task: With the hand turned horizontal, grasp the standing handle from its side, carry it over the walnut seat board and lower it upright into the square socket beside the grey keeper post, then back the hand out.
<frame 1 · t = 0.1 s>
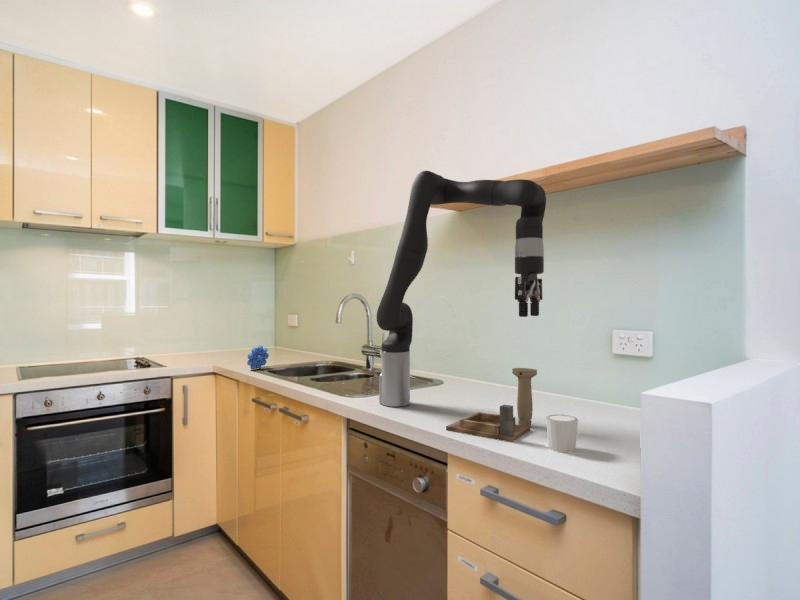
hand: (529, 316, 123), 29 cm above the countertop, tool pointing down, fingers open, 8 cm apart
white faceted cup: (561, 449, 103), on the countertop
handle: (524, 426, 123), on the countertop
seat board: (488, 430, 118), on the countertop
grapes: (257, 369, 230), on the countertop
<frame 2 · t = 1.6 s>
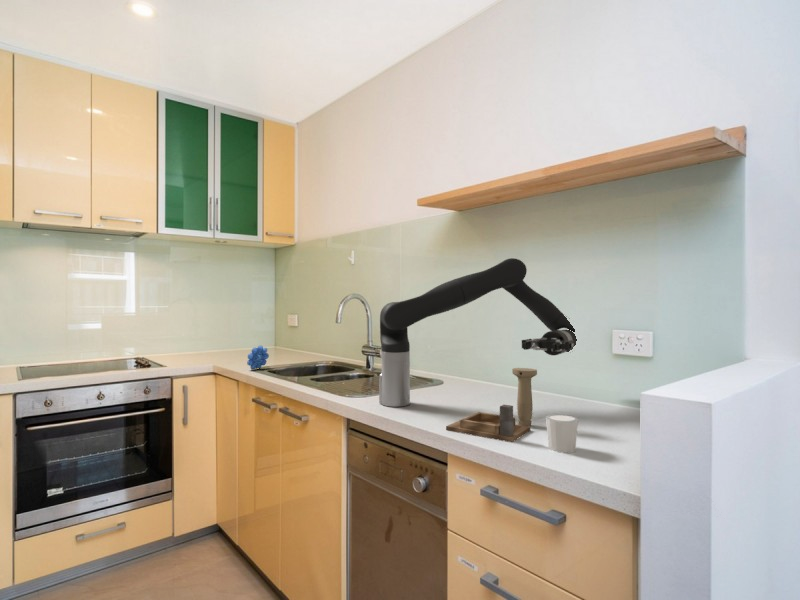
hand: (538, 346, 132), 20 cm above the countertop, tool horizontal, fingers open, 8 cm apart
nothing on the countertop moved.
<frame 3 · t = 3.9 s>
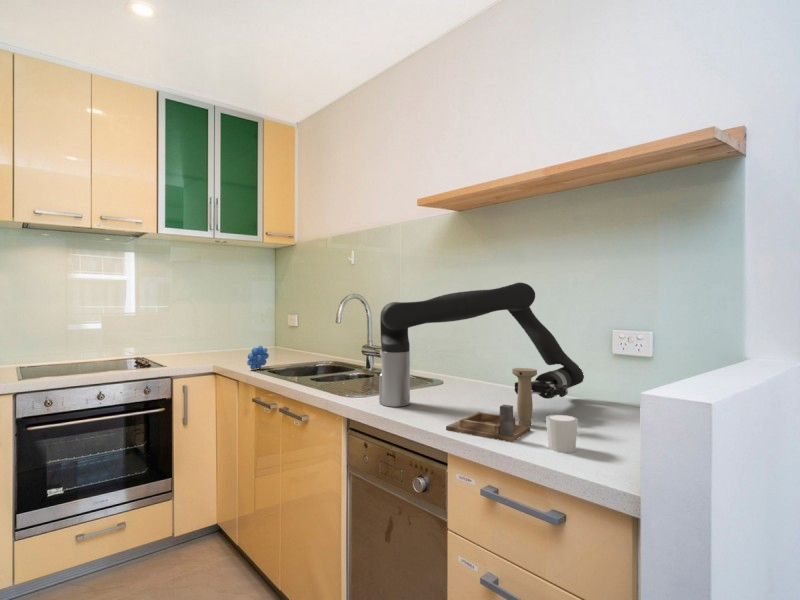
hand: (532, 392, 128), 8 cm above the countertop, tool horizontal, fingers open, 8 cm apart
nothing on the countertop moved.
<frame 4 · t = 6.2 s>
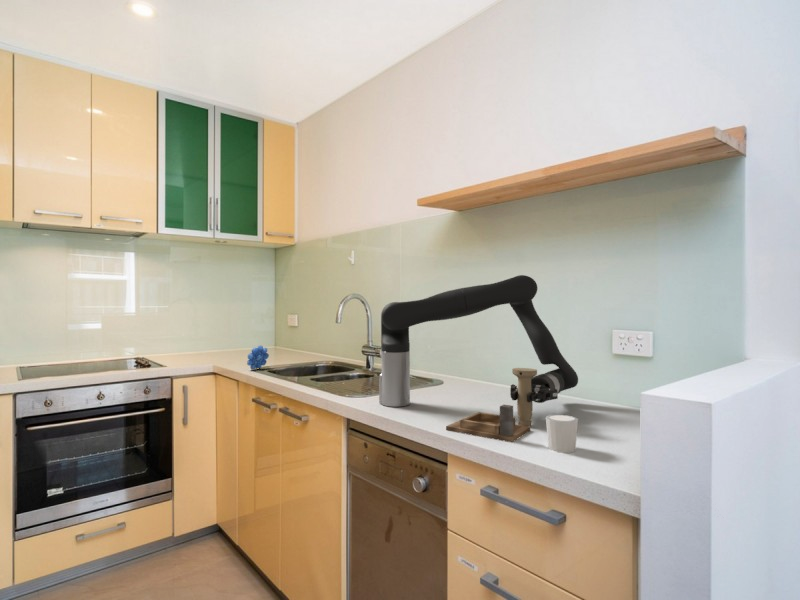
hand: (520, 397, 121), 8 cm above the countertop, tool horizontal, fingers closed on handle, 3 cm apart
handle: (525, 426, 123), on the countertop, touching gripper
everything else where it was.
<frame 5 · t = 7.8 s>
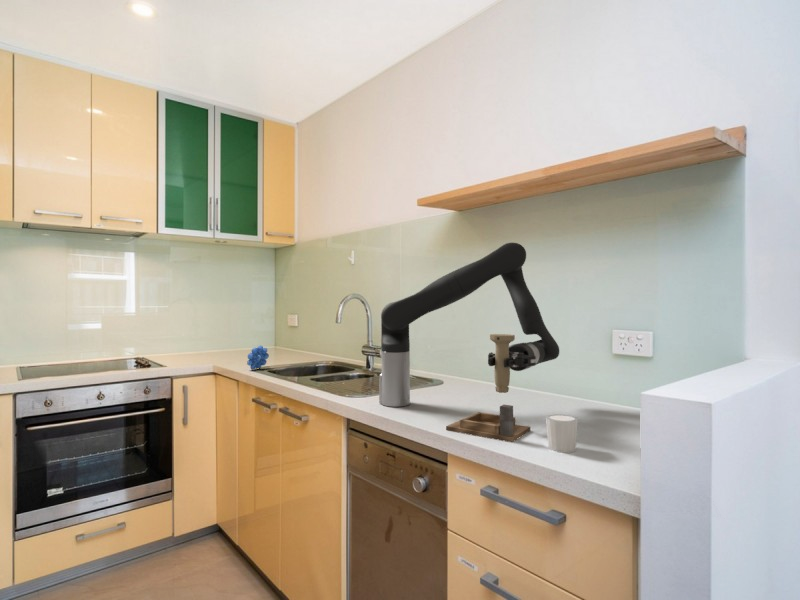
hand: (497, 362, 118), 17 cm above the countertop, tool horizontal, fingers closed on handle, 3 cm apart
handle: (502, 392, 121), point 9 cm above the countertop, touching gripper
everything else where it was.
when the fingers open (10 cm above the countertop, at t = 9.9 s): handle stays where it is, resting on seat board.
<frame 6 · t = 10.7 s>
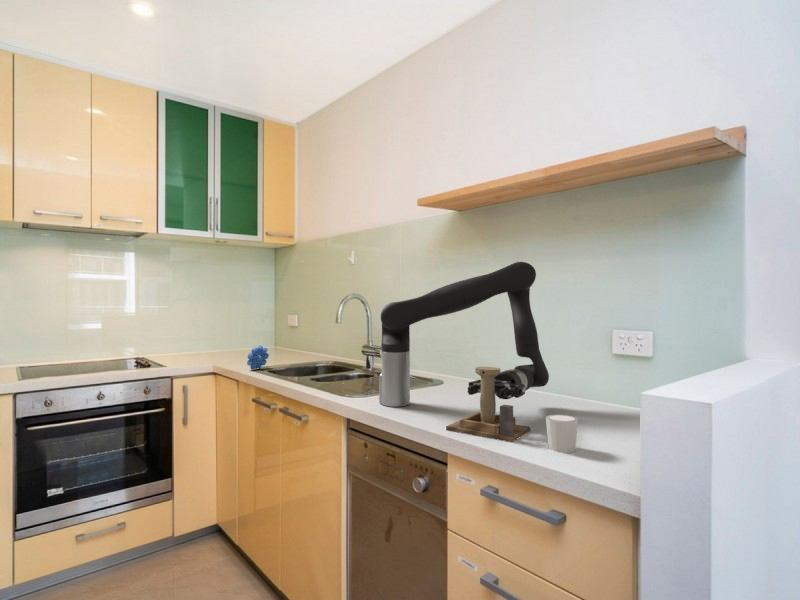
hand: (484, 392, 117), 10 cm above the countertop, tool horizontal, fingers open, 8 cm apart
handle: (488, 427, 119), point 1 cm above the countertop, touching seat board
everything else where it was.
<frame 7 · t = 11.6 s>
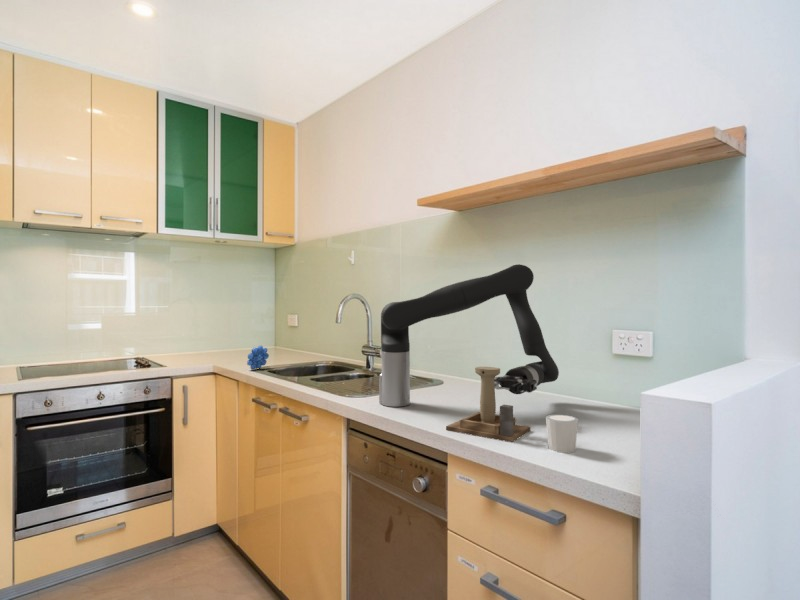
hand: (498, 387, 124), 10 cm above the countertop, tool horizontal, fingers open, 8 cm apart
nothing on the countertop moved.
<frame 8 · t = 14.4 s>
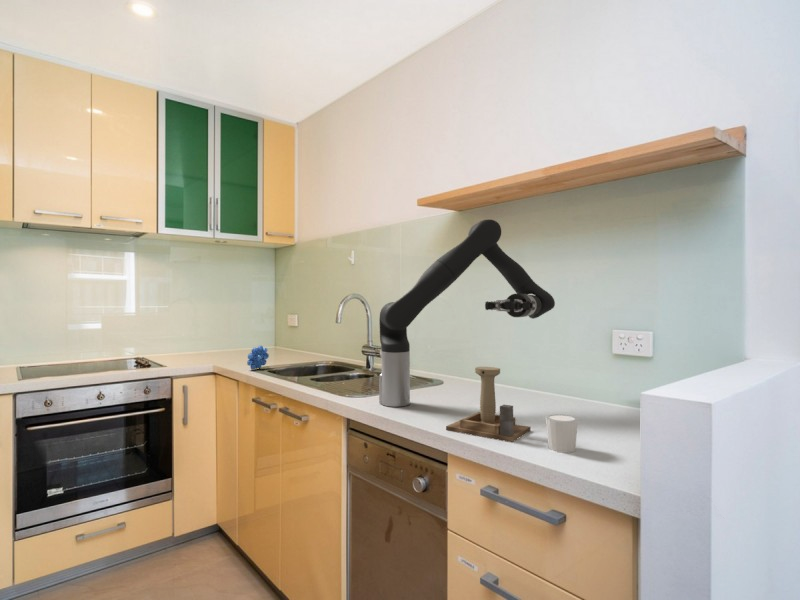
hand: (500, 305, 135), 32 cm above the countertop, tool horizontal, fingers open, 8 cm apart
nothing on the countertop moved.
at the end: handle inside the target area on the seat board (0.1 cm from its centre), point 0.8 cm above the seat board's base; handle tilted 0°; the gripper is holding nothing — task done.
